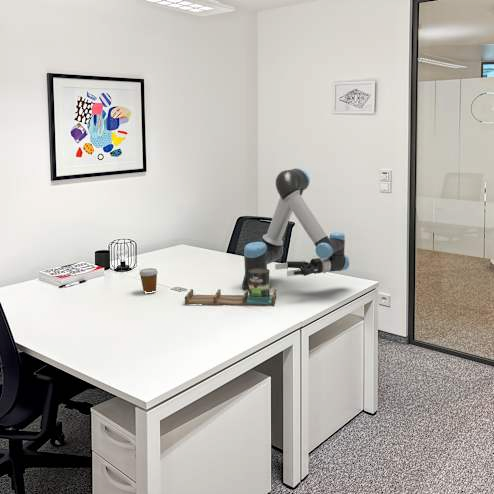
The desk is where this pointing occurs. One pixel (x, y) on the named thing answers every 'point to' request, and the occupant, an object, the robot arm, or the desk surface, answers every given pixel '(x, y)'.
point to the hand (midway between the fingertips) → (281, 270)
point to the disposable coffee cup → (149, 279)
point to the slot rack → (230, 299)
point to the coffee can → (259, 282)
